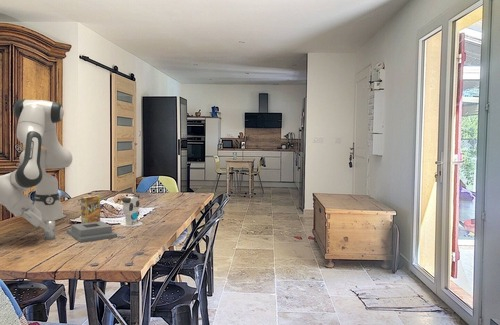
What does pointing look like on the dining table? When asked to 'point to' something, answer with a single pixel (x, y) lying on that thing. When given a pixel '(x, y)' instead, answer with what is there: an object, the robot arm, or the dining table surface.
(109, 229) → the socket housing
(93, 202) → the candy box
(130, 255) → the dining table surface
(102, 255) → the dining table surface
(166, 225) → the dining table surface
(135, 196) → the panda figurine
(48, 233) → the metal pin
